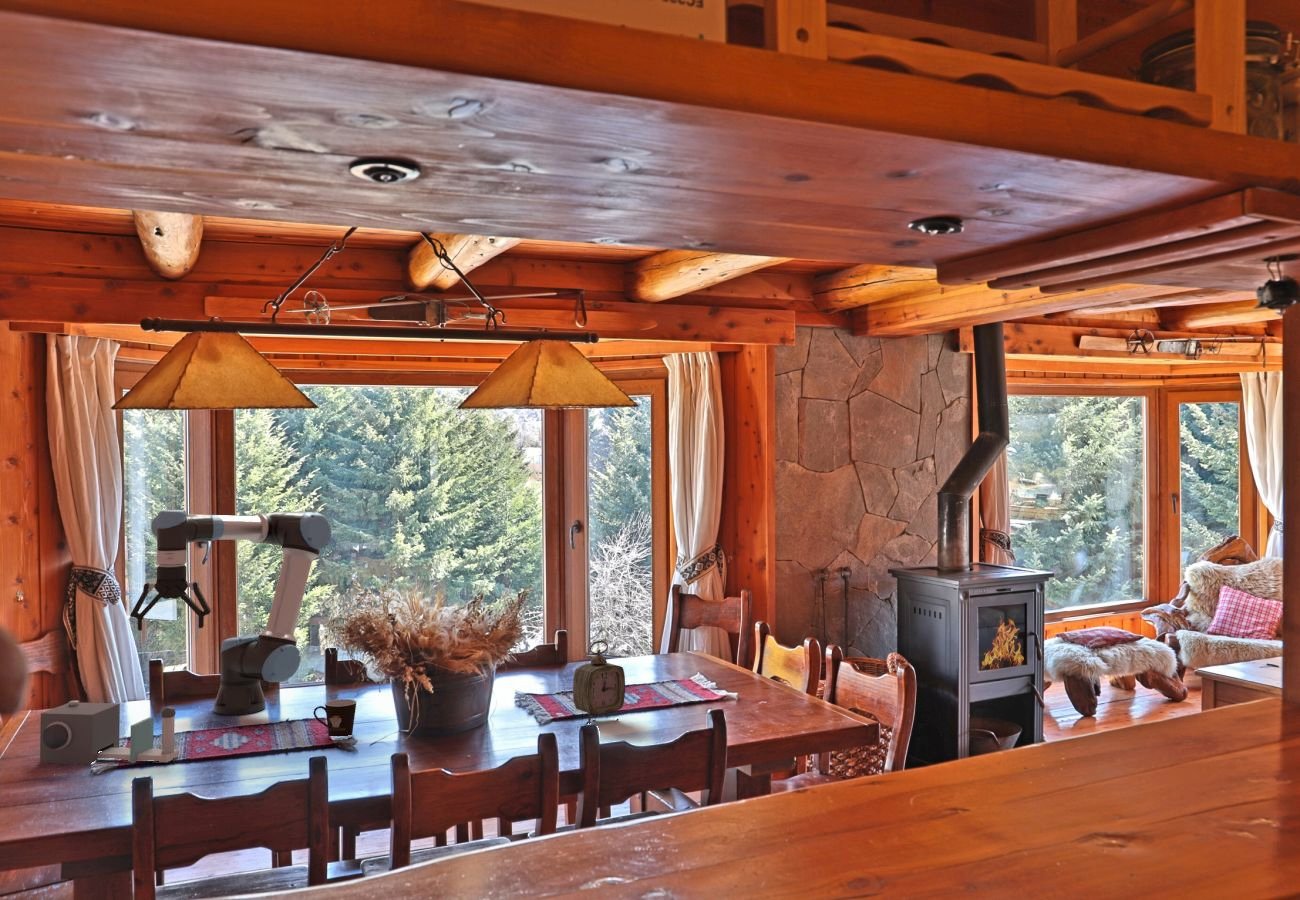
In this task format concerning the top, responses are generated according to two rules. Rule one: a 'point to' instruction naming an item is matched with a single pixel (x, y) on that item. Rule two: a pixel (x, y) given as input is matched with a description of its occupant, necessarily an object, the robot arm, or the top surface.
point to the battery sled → (147, 741)
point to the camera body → (78, 732)
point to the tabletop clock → (599, 686)
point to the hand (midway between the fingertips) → (170, 641)
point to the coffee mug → (339, 716)
